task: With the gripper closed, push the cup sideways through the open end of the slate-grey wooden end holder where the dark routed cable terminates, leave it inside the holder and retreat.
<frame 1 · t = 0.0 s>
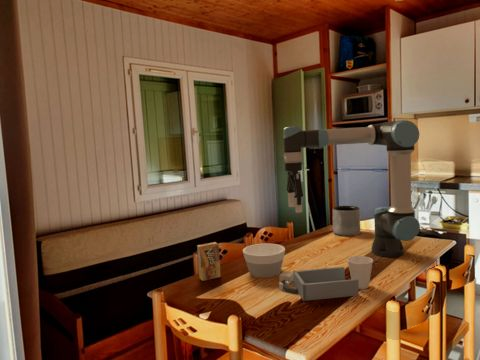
hand: (295, 209, 173), 28 cm above the table, fingers open, 13 cm apart
end holder: (326, 289, 152), on the table
planter: (346, 233, 235), on the table
cup: (360, 287, 153), on the table
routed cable: (287, 285, 156), resting in clamp and clip
bowl: (265, 272, 176), on the table
candy box: (210, 278, 172), on the table
clamp and clip: (286, 280, 160), on the table
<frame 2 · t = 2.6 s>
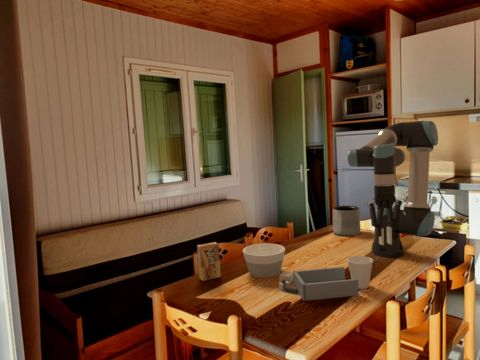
hand: (385, 243, 152), 17 cm above the table, fingers open, 3 cm apart
nothing on the table moved.
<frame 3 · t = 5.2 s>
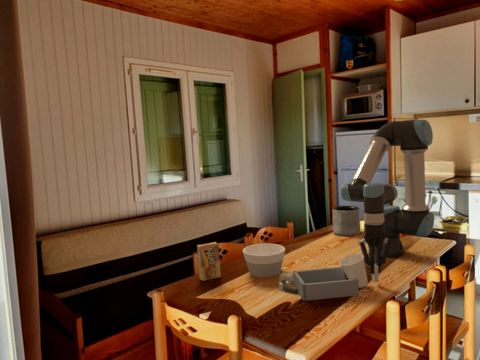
hand: (375, 281, 153), 2 cm above the table, fingers closed
cup: (360, 284, 153), point 1 cm above the table, touching hand
everything else where it was.
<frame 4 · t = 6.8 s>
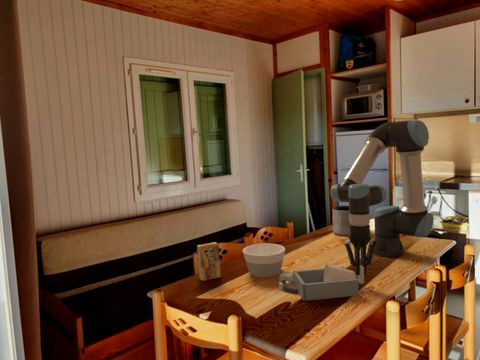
hand: (361, 282, 153), 2 cm above the table, fingers closed
cup: (354, 279, 153), point 3 cm above the table, touching gripper
everything else where it was.
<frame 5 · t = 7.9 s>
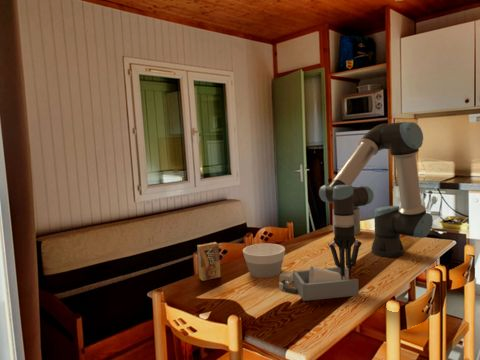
hand: (346, 283, 152), 2 cm above the table, fingers closed
cup: (339, 280, 152), point 3 cm above the table, touching gripper
everything else where it was.
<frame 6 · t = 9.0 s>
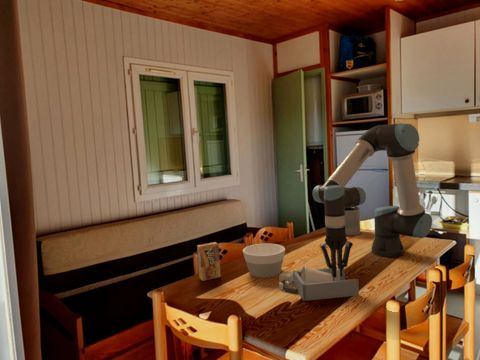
hand: (337, 284, 152), 2 cm above the table, fingers closed
cup: (331, 281, 152), point 3 cm above the table, touching gripper
everything else where it was.
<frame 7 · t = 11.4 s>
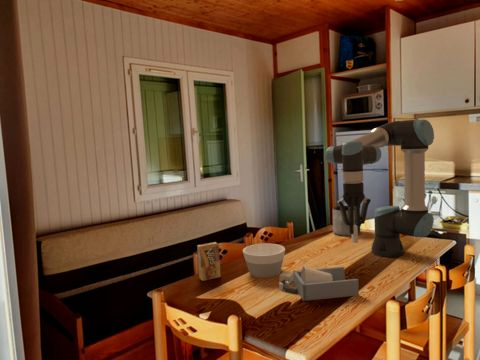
hand: (354, 241, 151), 18 cm above the table, fingers closed
cup: (331, 281, 152), point 3 cm above the table
everything else where it was.
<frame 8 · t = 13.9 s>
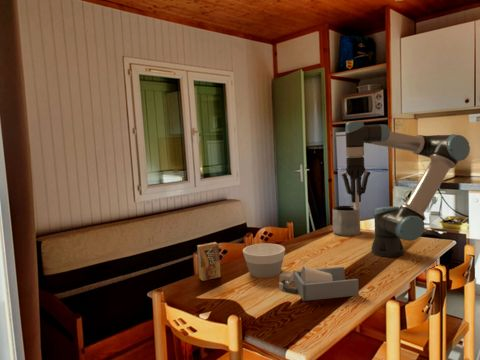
hand: (356, 209, 173), 26 cm above the table, fingers closed
nothing on the table moved.
at the end: cup inside the target area on the end holder (2.6 cm from its centre), point 3.2 cm above the end holder's base; cup touching table; cup moved 12.3 cm from its start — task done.
